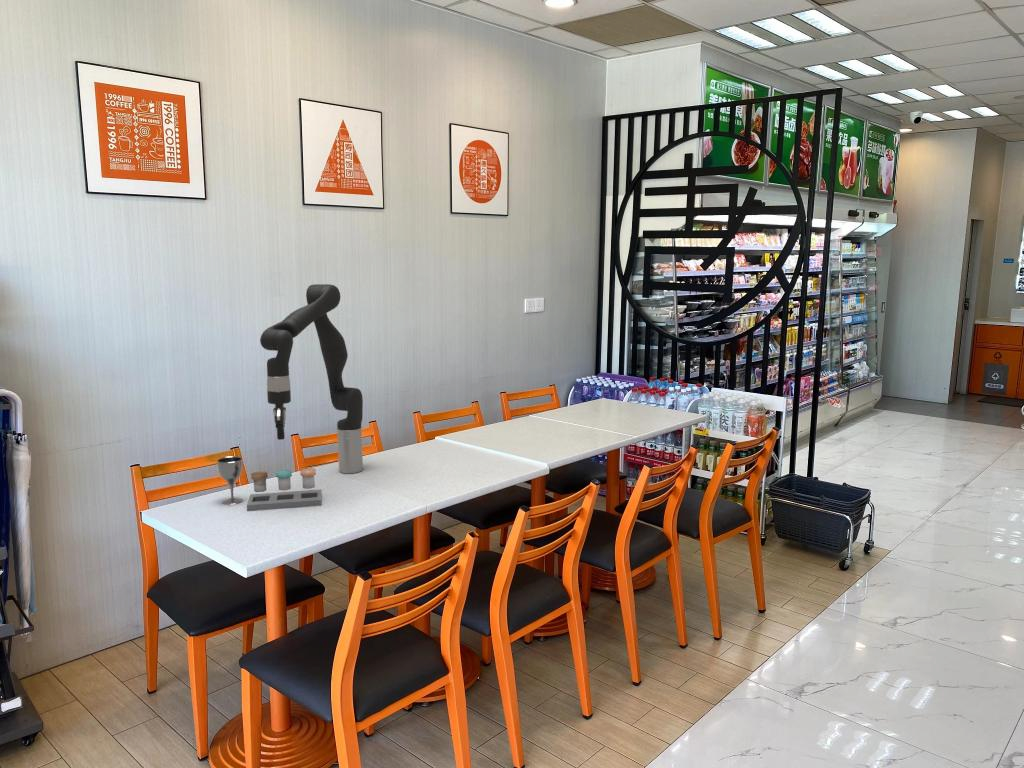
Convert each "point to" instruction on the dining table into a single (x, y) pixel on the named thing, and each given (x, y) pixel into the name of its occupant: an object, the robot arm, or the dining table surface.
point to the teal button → (284, 479)
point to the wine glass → (230, 475)
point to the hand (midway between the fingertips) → (280, 439)
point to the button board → (284, 500)
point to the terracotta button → (308, 477)
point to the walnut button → (259, 481)
